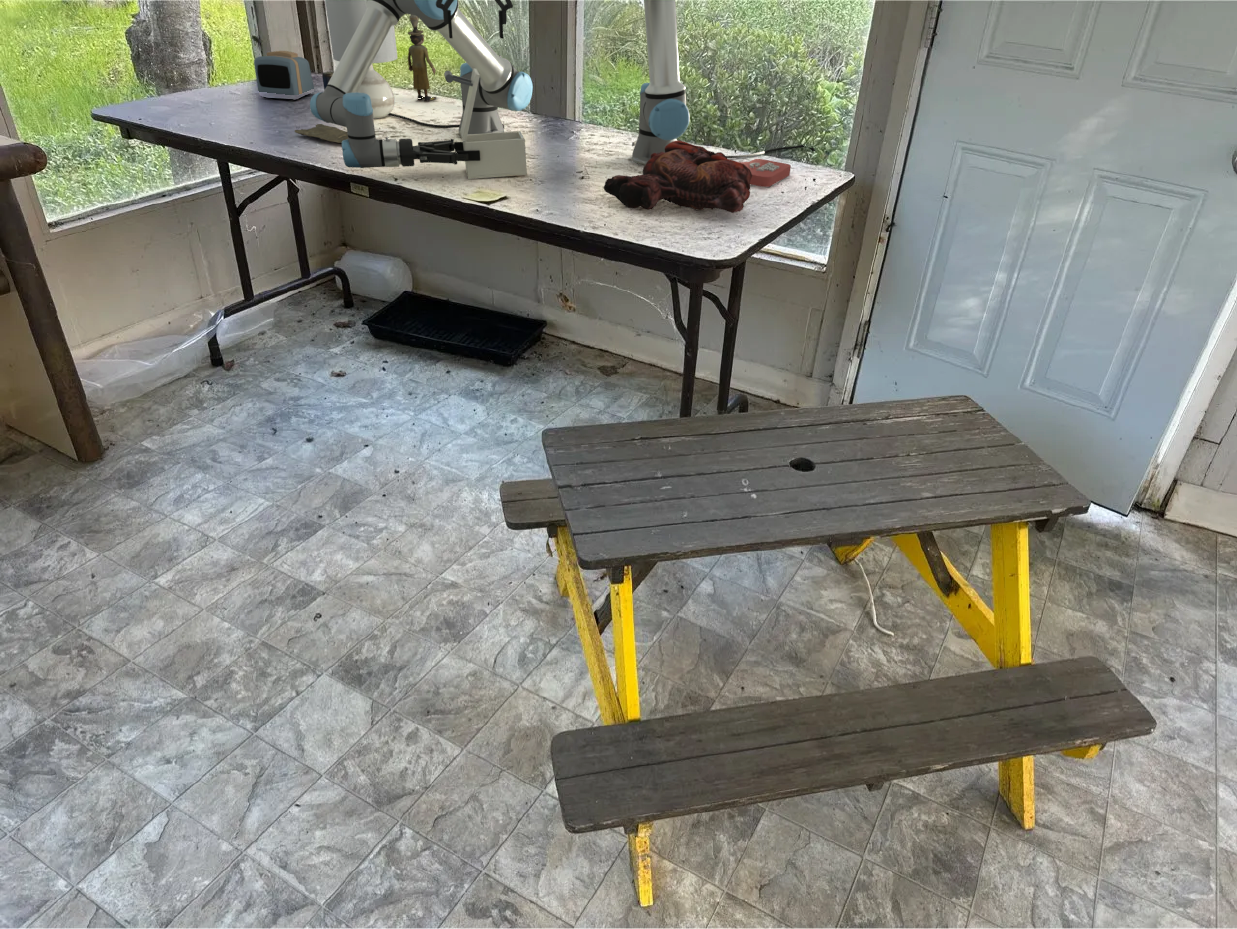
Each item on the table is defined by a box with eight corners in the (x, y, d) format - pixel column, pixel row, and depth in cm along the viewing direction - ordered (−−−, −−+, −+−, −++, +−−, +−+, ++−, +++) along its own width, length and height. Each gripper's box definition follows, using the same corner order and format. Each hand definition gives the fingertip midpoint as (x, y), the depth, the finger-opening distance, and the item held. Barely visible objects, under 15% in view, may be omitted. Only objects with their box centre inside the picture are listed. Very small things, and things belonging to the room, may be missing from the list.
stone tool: (292, 135, 280) (343, 148, 268) (291, 126, 278) (342, 139, 267) (320, 129, 287) (370, 142, 276) (318, 120, 286) (369, 133, 274)
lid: (476, 68, 238) (446, 59, 236) (479, 75, 231) (448, 65, 228) (463, 133, 247) (433, 125, 244) (466, 141, 240) (435, 133, 237)
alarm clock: (257, 98, 324) (248, 53, 316) (278, 90, 338) (270, 46, 329) (297, 101, 323) (289, 55, 314) (317, 93, 336) (310, 49, 327)
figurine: (443, 98, 335) (436, 13, 318) (431, 103, 327) (423, 15, 310) (418, 96, 337) (410, 11, 321) (406, 100, 330) (397, 13, 313)
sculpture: (769, 218, 227) (775, 169, 218) (687, 248, 212) (691, 197, 203) (663, 172, 252) (665, 126, 244) (583, 196, 237) (582, 148, 229)
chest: (523, 165, 256) (520, 130, 250) (527, 174, 249) (524, 138, 243) (465, 170, 253) (462, 134, 247) (468, 179, 246) (464, 142, 240)
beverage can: (339, 109, 314) (334, 74, 307) (318, 108, 314) (312, 73, 307) (346, 104, 321) (341, 69, 314) (325, 103, 321) (320, 69, 314)
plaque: (748, 154, 263) (793, 162, 256) (746, 167, 265) (791, 175, 258) (722, 166, 250) (769, 175, 244) (721, 179, 252) (767, 189, 246)
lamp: (416, 115, 310) (403, -11, 287) (372, 125, 294) (355, -7, 272) (373, 106, 319) (358, -16, 296) (328, 116, 304) (309, -13, 281)
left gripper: (398, 148, 231) (480, 147, 235) (397, 129, 249) (474, 128, 253) (401, 176, 235) (482, 174, 240) (400, 156, 253) (476, 154, 257)
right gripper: (422, -55, 213) (430, 39, 225) (521, -52, 218) (523, 39, 229) (421, -56, 219) (428, 35, 231) (517, -54, 224) (520, 35, 235)
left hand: (478, 150), depth 246 cm, fingers closed on chest, 9 cm apart
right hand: (476, 37), depth 230 cm, fingers open, 13 cm apart
